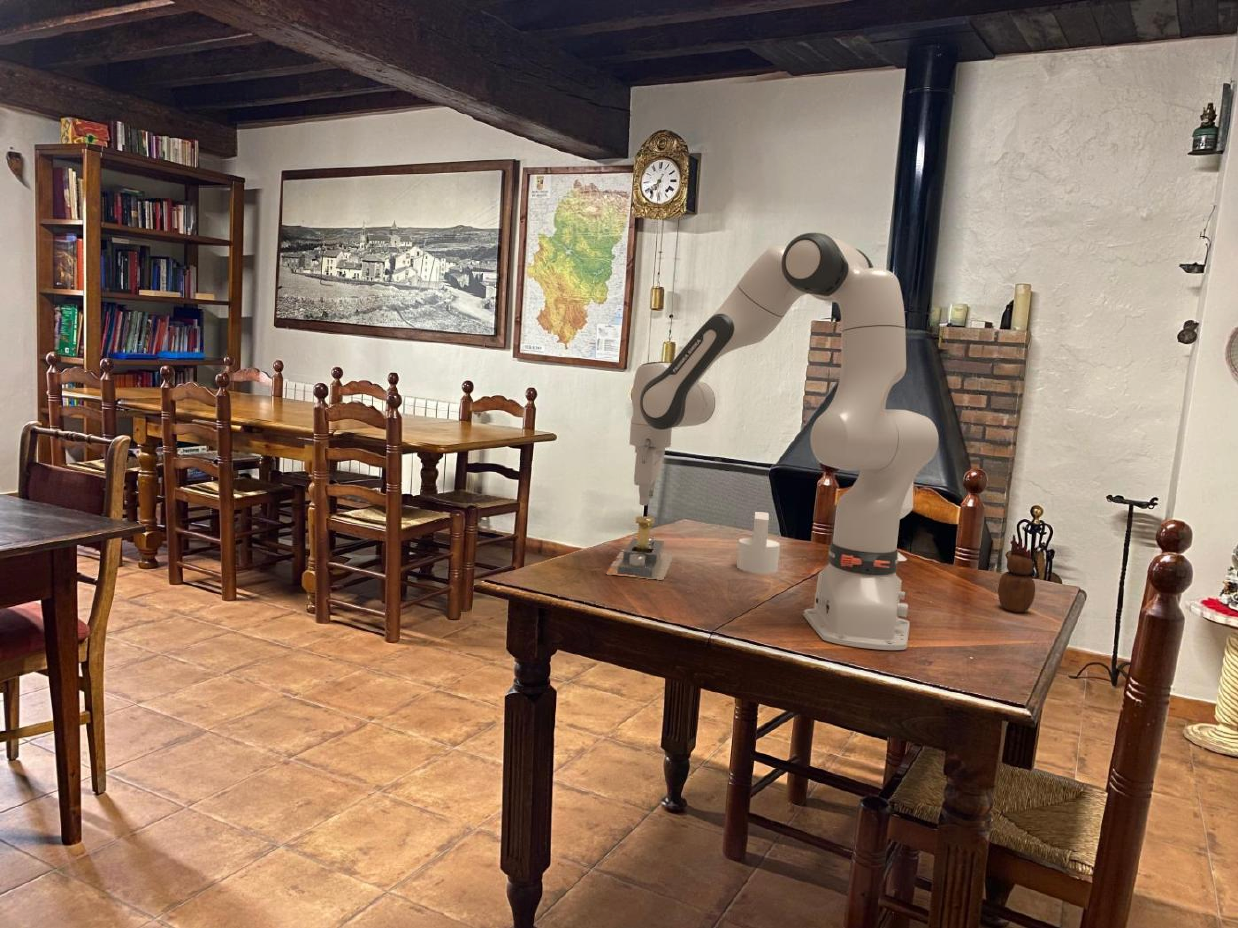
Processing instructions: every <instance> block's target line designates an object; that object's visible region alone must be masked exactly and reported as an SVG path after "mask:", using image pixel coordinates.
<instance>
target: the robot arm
mask: <svg viewBox="0 0 1238 928" xmlns="http://www.w3.org/2000/svg"><path fill="white" fill-rule="evenodd" d="M805 295H810V296H812V297H814V298H815V299H818V300H819V301H820V300H821V301H824V302H830V303H833V304H836V305H838V308H839V311H840V328H841V331H840V332H841V333H840V334H841V335H840V337H841V338H840V340H841V341H840V342H841V346H840V347H841V350H840V351H841V353H840V354H841V355H840V356H841V358H840V364H841V365H840V377H839V380H838V385H837V388H836V391H835V393H834V396H833V399H832V400H831V402H830V403H829V405H828V407H827V408H826V410H825V411H823V413H821V414H820V415H819V416H818V417H817V418H816V420H815V422H814V423H813V426H812V427H811V430H810V437H809V439H810V447H811V450H812V454H813V456H815V459H816V460H817V461H818V462H819V463H820V464H821V465H824V466H827V467H830V468H834V469H838V470H842V471H855V472H856V471H859V474H858V476H857V479H856V480H855V482H854V483H853V485H852V486H851V487H850V488H849V489H848V490H847V491H845V492H844V493H843V494H842V495H841V496H840V497H839V498H838V501H837V503H836V506H835V507H836V508H835V517H834V518H835V519H834V527H833V536H832V541H831V542H830V544H829V548H828V562H829V563H828V564H827V565H826V567H824V568H823V569H822V570H821V571H819V572H818V574H817V575H818V577H817V583H816V590H815V591H816V592H815V596H814V597H815V598H814V606H813V608H806V609H804V610H803V611H804V612H803V617H804V618H805V620H806V621H807V622H808V623H809V625H810V626H811V627H812V628H813V630H814V631H815V632H816V633H817V634H818V635H819V637H820V638H821V639H822V640H823V641H825V642H829V643H833V644H836V645H837V644H838V645H841V646H847V647H853V648H861V649H868V650H869V649H872V650H881V651H904V650H907V647H908V642H909V640H908V639H909V635H910V634H909V633H910V629H911V628H910V627H911V625H910V623H911V621H909V620H907V619H904V618H905V617H907V616H908V609H909V603H907V602H906V603H905V602H900V600H905V598H906V592H905V591H902V579H901V578H900V577H899V576H898V575H897V570H898V563H899V561H898V552H899V551H898V549H897V548H896V542H897V543H898V539H897V534H898V535H899V530H898V527H899V528H900V521H899V520H901V519H900V514H901V509H902V506H903V502H904V499H905V497H906V494H907V492H908V490H909V488H910V486H911V484H912V482H913V480H915V478H916V476H918V473H919V472H921V470H922V469H923V468H924V467H925V466H926V465H927V464H929V462H931V461H932V460H933V458H934V456H935V455H936V453H937V451H938V447H939V440H940V439H939V438H940V437H939V433H938V429H937V426H936V425H935V423H934V422H933V421H932V419H930V418H929V417H927V416H926V415H923V414H920V413H917V412H914V411H910V410H907V409H886V407H887V406H886V404H887V400H888V396H889V394H890V391H891V389H892V387H893V386H894V385H895V384H897V383H898V382H899V381H900V380H902V379H903V377H904V376H905V373H906V371H907V341H906V340H907V339H906V315H905V307H904V299H903V294H902V289H901V284H900V281H899V279H898V277H897V276H896V274H894V273H893V272H892V271H890V270H888V269H885V268H880V267H874V265H873V263H872V260H870V258H869V257H868V256H867V255H866V254H865V253H864V252H863V251H862V250H860V249H858V248H854V247H853V246H851V245H850V244H848V242H846V241H844V240H842V239H839V238H835V237H834V236H829V235H827V234H825V233H822V232H807V233H803V234H800V235H798V236H795V238H793V239H792V240H791V241H790V242H789V243H788V244H787V246H785V245H773V246H771V247H768V249H766V250H765V251H764V252H763V253H762V254H761V255H760V256H759V257H758V258H757V259H756V261H754V263H753V264H752V265H751V266H750V267H749V268H748V269H747V271H746V272H745V273H744V275H743V276H742V277H741V279H740V280H739V281H738V282H737V284H736V286H735V287H734V288H733V290H732V291H731V293H730V294H729V296H727V298H726V299H725V301H723V303H722V304H721V305H720V307H719V308H718V309H717V310H716V311H715V312H714V313H713V314H712V316H711V317H709V318H708V319H707V321H706V322H705V323H704V324H703V325H702V326H701V327H700V328H699V329H698V330H697V332H696V333H695V334H694V335H693V336H692V337H691V339H690V340H689V341H688V342H687V343H686V345H685V346H684V347H683V348H682V350H681V351H680V352H679V353H678V355H676V357H675V358H674V359H673V361H672V362H669V361H653V362H652V361H651V362H646V363H642V364H640V365H639V366H638V367H637V369H636V371H635V376H634V379H633V385H632V393H631V394H632V396H631V404H632V411H633V412H632V417H631V419H630V428H629V429H630V430H629V445H630V446H633V447H634V453H635V455H636V456H635V463H634V464H635V465H634V472H633V473H634V475H633V476H634V477H633V483H634V485H635V486H638V493H639V500H638V501H639V503H638V504H639V505H640V506H648V505H649V503H650V502H649V501H650V500H652V499H653V498H654V495H655V487H656V483H657V482H656V481H657V479H658V478H659V477H660V476H661V474H662V470H663V464H664V459H665V453H666V449H667V448H670V447H671V445H672V429H673V428H682V427H683V428H684V427H685V428H686V427H691V426H692V427H693V426H694V427H695V426H698V425H699V426H700V425H701V424H705V423H707V422H708V421H709V420H711V418H712V416H713V414H714V413H715V408H716V396H715V393H714V391H713V390H712V388H711V387H710V385H708V384H707V383H705V382H703V381H700V380H701V379H702V378H703V376H705V374H706V373H707V371H708V370H709V369H710V368H711V367H712V365H713V364H714V363H715V362H716V361H717V360H719V359H720V358H721V357H722V356H724V355H726V354H728V353H730V352H732V351H735V350H737V349H740V348H743V347H747V346H751V345H754V344H757V343H760V342H761V341H763V340H765V339H766V337H768V336H769V335H770V334H771V333H772V332H773V331H774V330H776V327H778V325H779V324H780V322H781V321H782V320H783V319H784V317H785V316H786V315H787V313H788V312H789V310H790V308H791V307H792V306H793V305H794V303H795V302H796V301H797V300H798V299H799V298H801V297H802V296H805ZM900 617H903V618H900Z"/></svg>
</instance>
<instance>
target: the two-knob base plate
mask: <svg viewBox="0 0 1238 928" xmlns="http://www.w3.org/2000/svg"><path fill="white" fill-rule="evenodd" d="M637 539H638V537H637V538H635V537H633V538H632V539H630V542H629V544H628V545H627V546H626V548H625V549H621V550H620V552H619V553H618V554H617V556H616V557H615V559H616V558H623V559H622V560H621V559H619V561H614V560H613V561H612V562H611V565H610V566H618V570H617V572H616V573H614V572H613V573H614V574H627V575H635V576H636V577H642V578H650V579H657V580H656V581H658V580H663V579H664V580H665V578H664V577H666V575H667V573H668V571H667V570H669V567H670V566H671V564H672V562H673V559H674V557H675V556H674V554H670V553H663V550H664V547H665V541H664V540H656V539H655V537H653V536H650V539H649V551H648V553H646V552H636V551H637ZM621 551H624V553H623V552H621ZM673 556H674V557H673ZM672 558H673V559H672ZM670 563H671V564H670ZM613 573H612V574H613ZM664 580H663V581H664Z"/></svg>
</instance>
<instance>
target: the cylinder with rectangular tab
mask: <svg viewBox="0 0 1238 928" xmlns="http://www.w3.org/2000/svg"><path fill="white" fill-rule="evenodd" d="M769 516H770V515H769V512H764V511H755V512H754V519H753V520H754V522H753V530H752V531H753V533H752V537H743V538H740V539H739V540H738V548H737V560H736V568H737V569H738V568H739V569H738V570H740V571H743V572H745V573H751V574H760V575H767V574H769V575H770V574H776V573H778V571H779V558H780V547H781V544H780V542H778V541H776V540H772V539H768V535H769V534H768V533H769V524H770V523H769V521H770V519H769V518H770V517H769Z"/></svg>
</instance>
